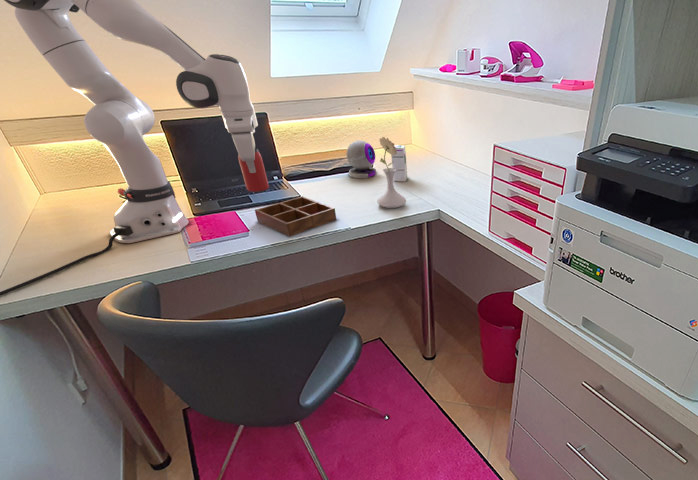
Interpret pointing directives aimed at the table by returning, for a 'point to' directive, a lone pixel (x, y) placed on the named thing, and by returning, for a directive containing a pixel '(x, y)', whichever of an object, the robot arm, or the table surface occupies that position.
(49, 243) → the table surface
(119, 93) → the robot arm
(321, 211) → the tray
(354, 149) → the webcam
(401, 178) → the syrup box
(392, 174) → the flower in vase
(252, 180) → the beer can
